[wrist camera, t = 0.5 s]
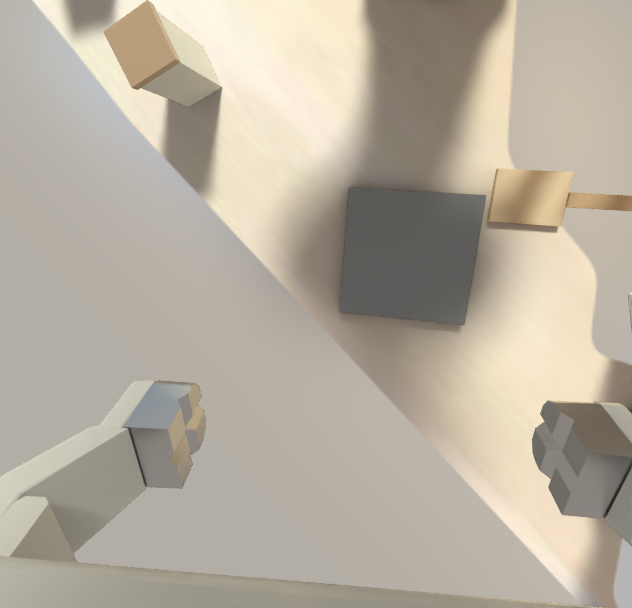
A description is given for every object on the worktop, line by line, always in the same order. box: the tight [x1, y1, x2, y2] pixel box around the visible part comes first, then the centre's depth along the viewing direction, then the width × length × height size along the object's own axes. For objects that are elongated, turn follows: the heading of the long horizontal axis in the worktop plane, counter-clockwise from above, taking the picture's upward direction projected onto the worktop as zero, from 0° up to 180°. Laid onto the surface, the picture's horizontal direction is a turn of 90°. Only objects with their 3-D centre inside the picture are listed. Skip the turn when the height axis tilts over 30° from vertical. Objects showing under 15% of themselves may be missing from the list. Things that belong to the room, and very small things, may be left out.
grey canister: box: [104, 0, 222, 107], centre depth 44 cm, size 5×5×12 cm
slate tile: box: [340, 187, 486, 325], centre depth 51 cm, size 16×16×2 cm
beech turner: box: [488, 169, 632, 226], centre depth 46 cm, size 20×6×1 cm, turn 87°
